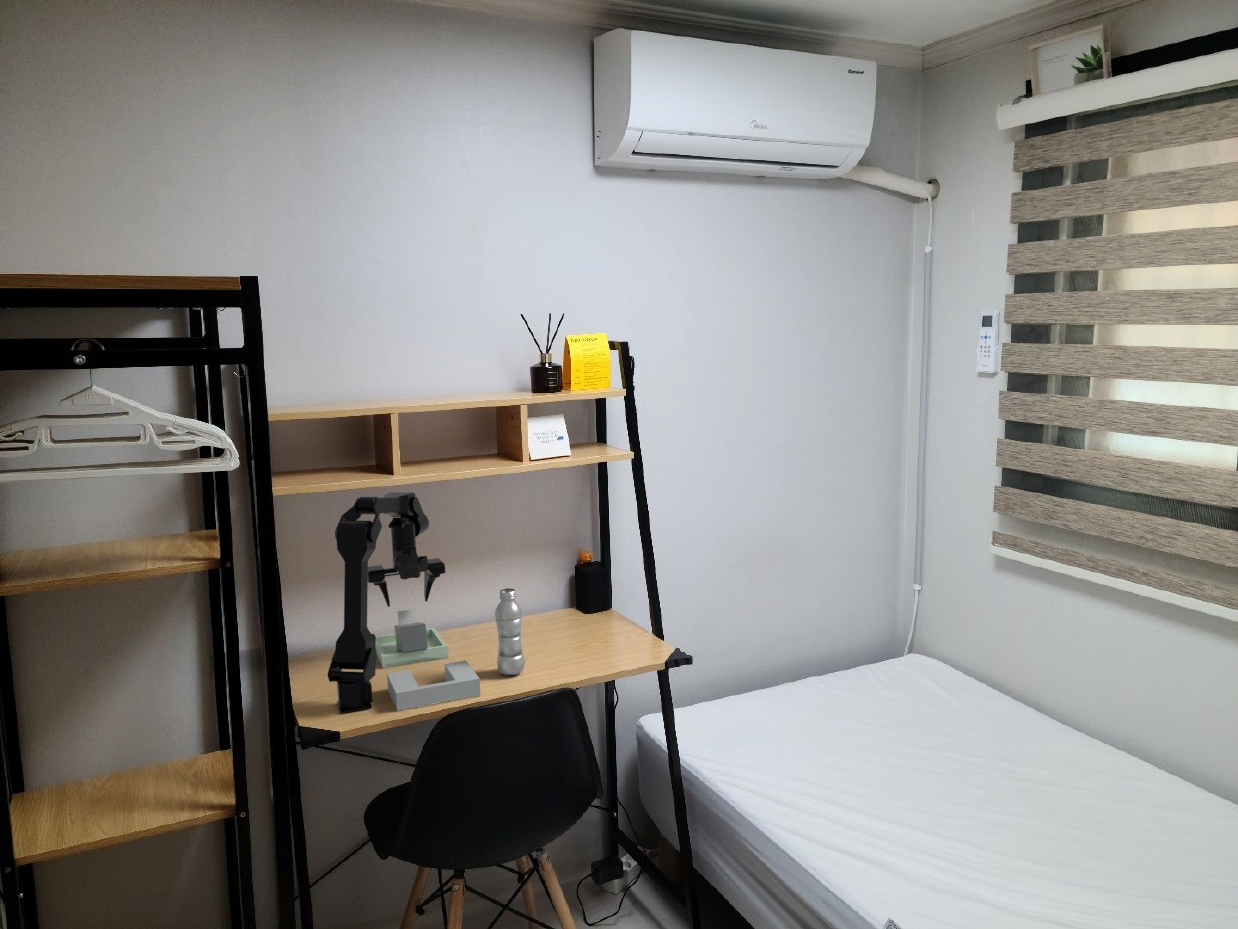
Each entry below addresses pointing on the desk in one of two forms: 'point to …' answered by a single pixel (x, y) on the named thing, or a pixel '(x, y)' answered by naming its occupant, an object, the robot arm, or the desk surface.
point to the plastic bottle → (509, 634)
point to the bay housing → (433, 687)
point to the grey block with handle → (410, 632)
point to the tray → (394, 657)
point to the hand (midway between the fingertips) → (407, 603)
